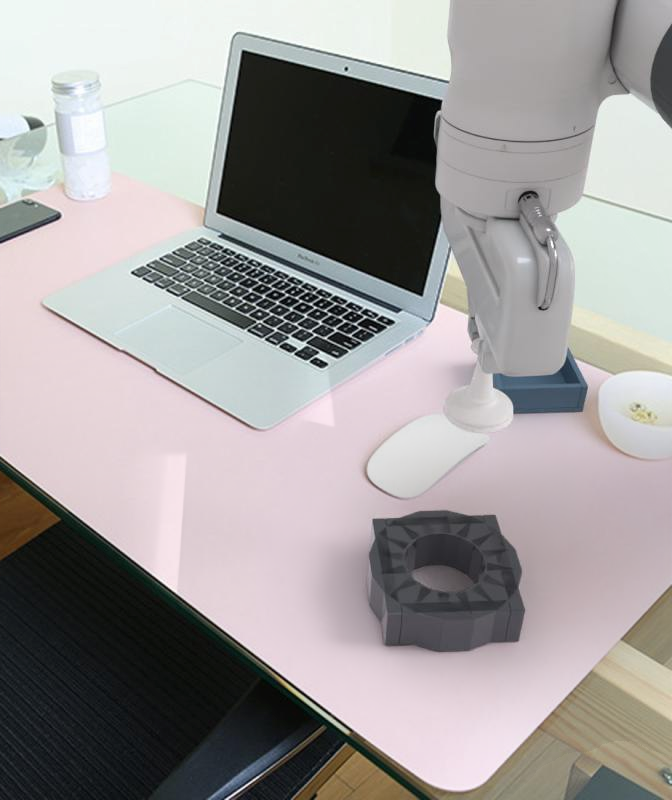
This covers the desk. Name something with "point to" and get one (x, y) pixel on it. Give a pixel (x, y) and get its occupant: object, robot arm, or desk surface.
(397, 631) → the dark grey ring block
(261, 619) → the desk surface
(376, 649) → the desk surface
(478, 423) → the chess piece
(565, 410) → the basin tray
